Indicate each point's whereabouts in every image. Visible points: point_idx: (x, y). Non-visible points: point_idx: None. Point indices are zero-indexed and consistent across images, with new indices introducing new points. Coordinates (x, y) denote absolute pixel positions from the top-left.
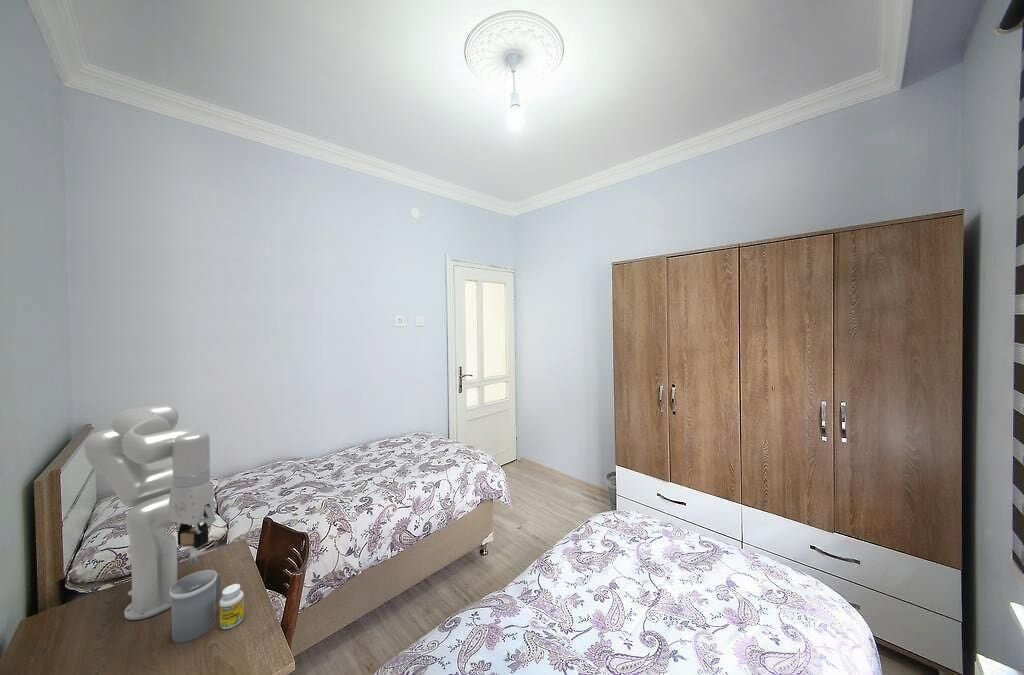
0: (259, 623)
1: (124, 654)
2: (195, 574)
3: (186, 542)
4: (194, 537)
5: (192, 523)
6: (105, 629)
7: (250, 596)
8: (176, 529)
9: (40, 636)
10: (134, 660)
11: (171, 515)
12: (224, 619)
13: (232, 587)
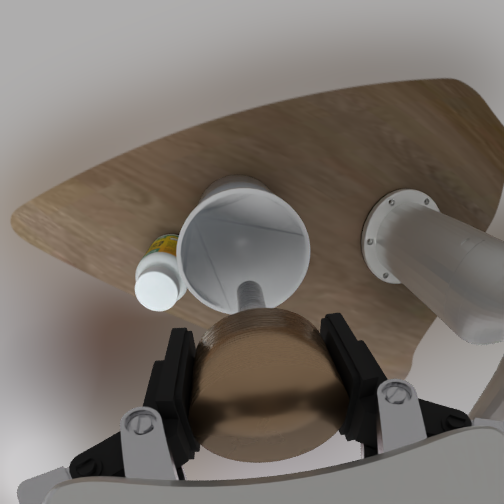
0: (112, 270)
1: (312, 122)
2: (284, 283)
3: (227, 335)
4: (172, 381)
5: (77, 492)
6: (421, 160)
7: (213, 316)
8: (403, 382)
9: (488, 131)
10: (271, 117)
11: (490, 487)
12: (158, 242)
13: (159, 296)
